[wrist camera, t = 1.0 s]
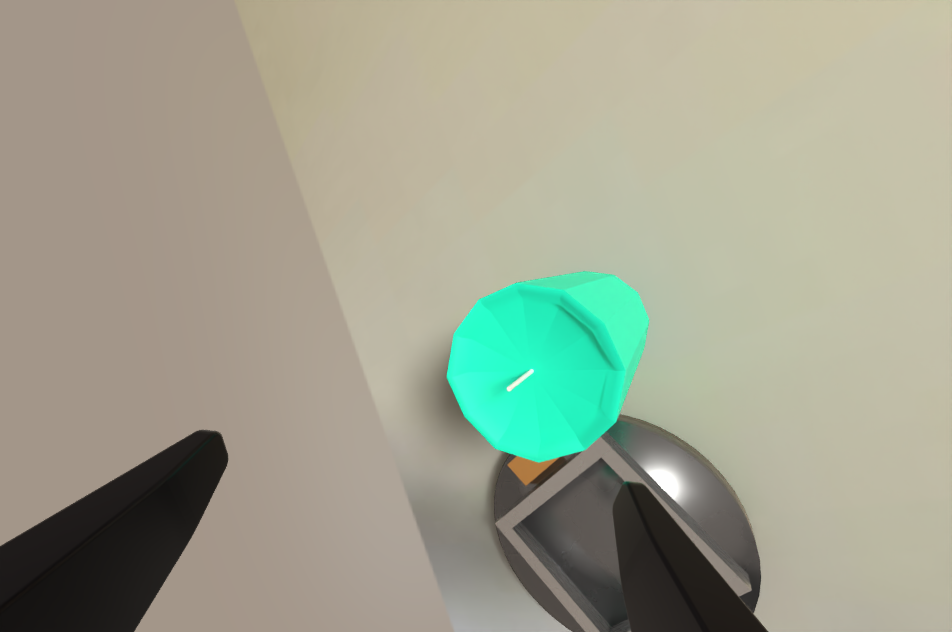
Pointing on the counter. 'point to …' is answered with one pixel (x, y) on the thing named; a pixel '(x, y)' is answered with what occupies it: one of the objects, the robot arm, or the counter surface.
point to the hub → (592, 528)
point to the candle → (548, 362)
